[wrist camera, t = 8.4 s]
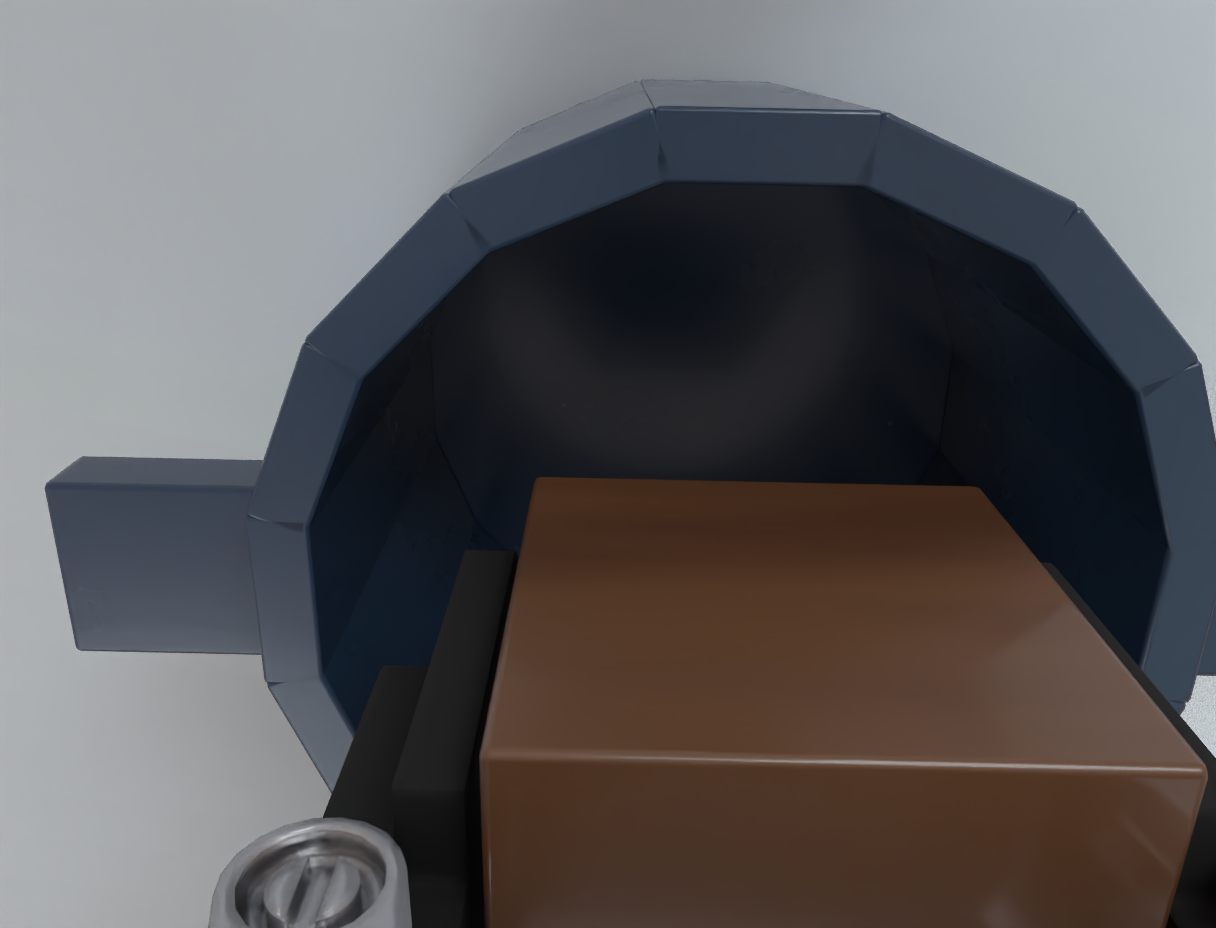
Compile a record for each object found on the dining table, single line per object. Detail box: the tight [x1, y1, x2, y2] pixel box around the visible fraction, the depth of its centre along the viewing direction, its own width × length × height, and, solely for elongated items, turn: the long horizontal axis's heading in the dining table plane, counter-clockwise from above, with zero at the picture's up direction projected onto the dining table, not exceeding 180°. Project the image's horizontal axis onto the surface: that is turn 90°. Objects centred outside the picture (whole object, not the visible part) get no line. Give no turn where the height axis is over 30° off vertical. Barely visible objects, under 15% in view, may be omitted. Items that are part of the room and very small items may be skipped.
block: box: [479, 477, 1208, 928], centre depth 9 cm, size 5×5×5 cm
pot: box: [45, 80, 1216, 793], centre depth 17 cm, size 12×17×9 cm
